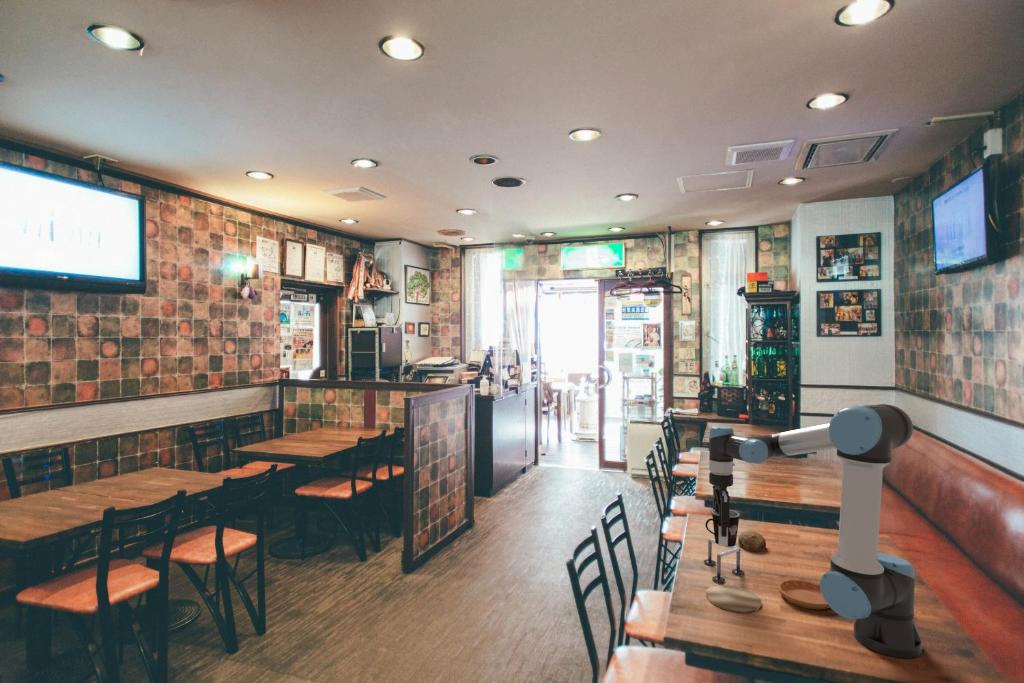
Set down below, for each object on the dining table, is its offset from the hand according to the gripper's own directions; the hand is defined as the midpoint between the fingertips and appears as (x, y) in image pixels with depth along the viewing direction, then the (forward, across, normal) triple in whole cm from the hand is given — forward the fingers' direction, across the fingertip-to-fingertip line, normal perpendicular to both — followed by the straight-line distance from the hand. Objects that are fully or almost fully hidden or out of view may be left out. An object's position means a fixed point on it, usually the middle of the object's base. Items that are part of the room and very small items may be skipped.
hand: (720, 541), depth 180 cm
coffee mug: (+1, 0, 0) cm, 1 cm away
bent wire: (+14, +8, -4) cm, 16 cm away
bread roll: (+14, +35, -19) cm, 42 cm away
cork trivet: (+14, -12, -1) cm, 18 cm away
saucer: (+14, -8, -24) cm, 29 cm away
